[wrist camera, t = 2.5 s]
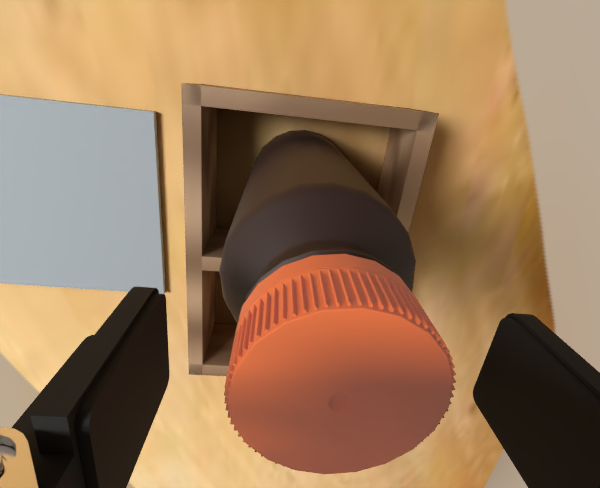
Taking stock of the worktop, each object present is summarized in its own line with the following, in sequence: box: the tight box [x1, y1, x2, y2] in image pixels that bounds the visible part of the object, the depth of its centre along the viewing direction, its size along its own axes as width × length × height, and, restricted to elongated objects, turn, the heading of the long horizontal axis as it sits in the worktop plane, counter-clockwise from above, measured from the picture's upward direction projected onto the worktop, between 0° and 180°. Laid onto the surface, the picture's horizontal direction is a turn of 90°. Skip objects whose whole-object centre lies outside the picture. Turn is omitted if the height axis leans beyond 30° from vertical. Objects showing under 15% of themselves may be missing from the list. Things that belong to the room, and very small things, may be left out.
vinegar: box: [219, 130, 456, 474], centre depth 16 cm, size 7×7×20 cm
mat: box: [0, 94, 166, 294], centre depth 25 cm, size 14×14×1 cm
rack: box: [181, 83, 439, 376], centre depth 25 cm, size 20×14×5 cm
